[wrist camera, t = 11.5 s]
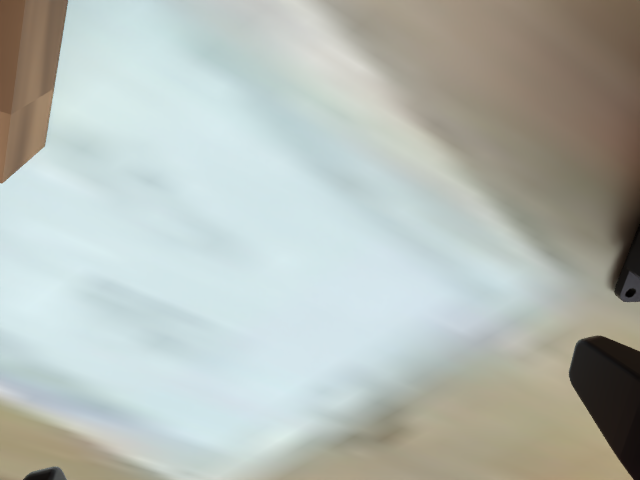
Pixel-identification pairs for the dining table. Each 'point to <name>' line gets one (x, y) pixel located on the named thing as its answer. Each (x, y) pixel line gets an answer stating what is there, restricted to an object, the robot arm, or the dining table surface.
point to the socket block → (27, 76)
